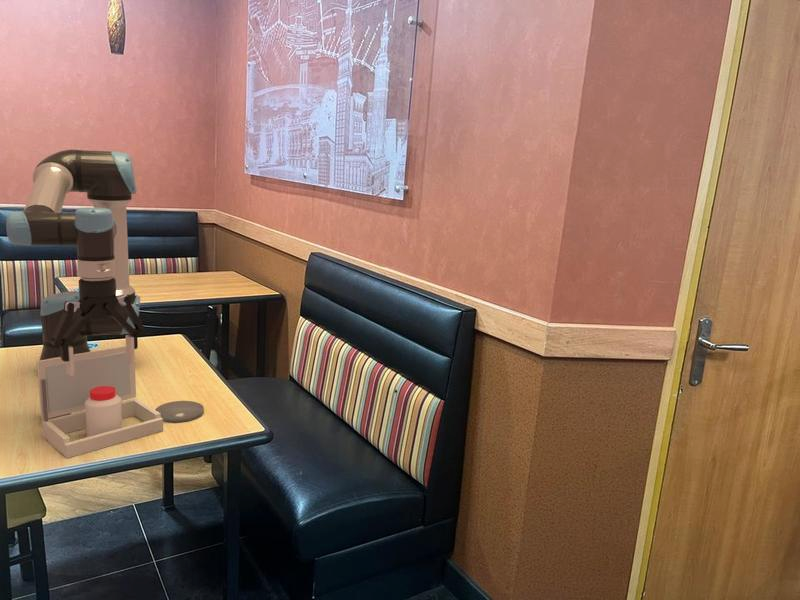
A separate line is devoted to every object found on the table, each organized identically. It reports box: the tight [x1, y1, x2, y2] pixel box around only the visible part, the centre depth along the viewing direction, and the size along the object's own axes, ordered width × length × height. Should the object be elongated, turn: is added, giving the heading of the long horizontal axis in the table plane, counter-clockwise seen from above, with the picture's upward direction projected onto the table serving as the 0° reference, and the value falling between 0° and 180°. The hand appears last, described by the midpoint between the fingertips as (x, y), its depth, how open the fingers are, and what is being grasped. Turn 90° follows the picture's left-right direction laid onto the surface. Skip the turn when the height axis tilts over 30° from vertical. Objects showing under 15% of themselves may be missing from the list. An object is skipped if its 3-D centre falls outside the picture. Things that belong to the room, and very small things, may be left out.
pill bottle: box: [84, 386, 124, 438], centre depth 148 cm, size 8×8×11 cm
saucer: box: [154, 400, 205, 424], centre depth 163 cm, size 12×12×1 cm
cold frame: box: [36, 344, 164, 459], centre depth 147 cm, size 15×22×18 cm
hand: (101, 368), depth 145 cm, fingers open, 13 cm apart
